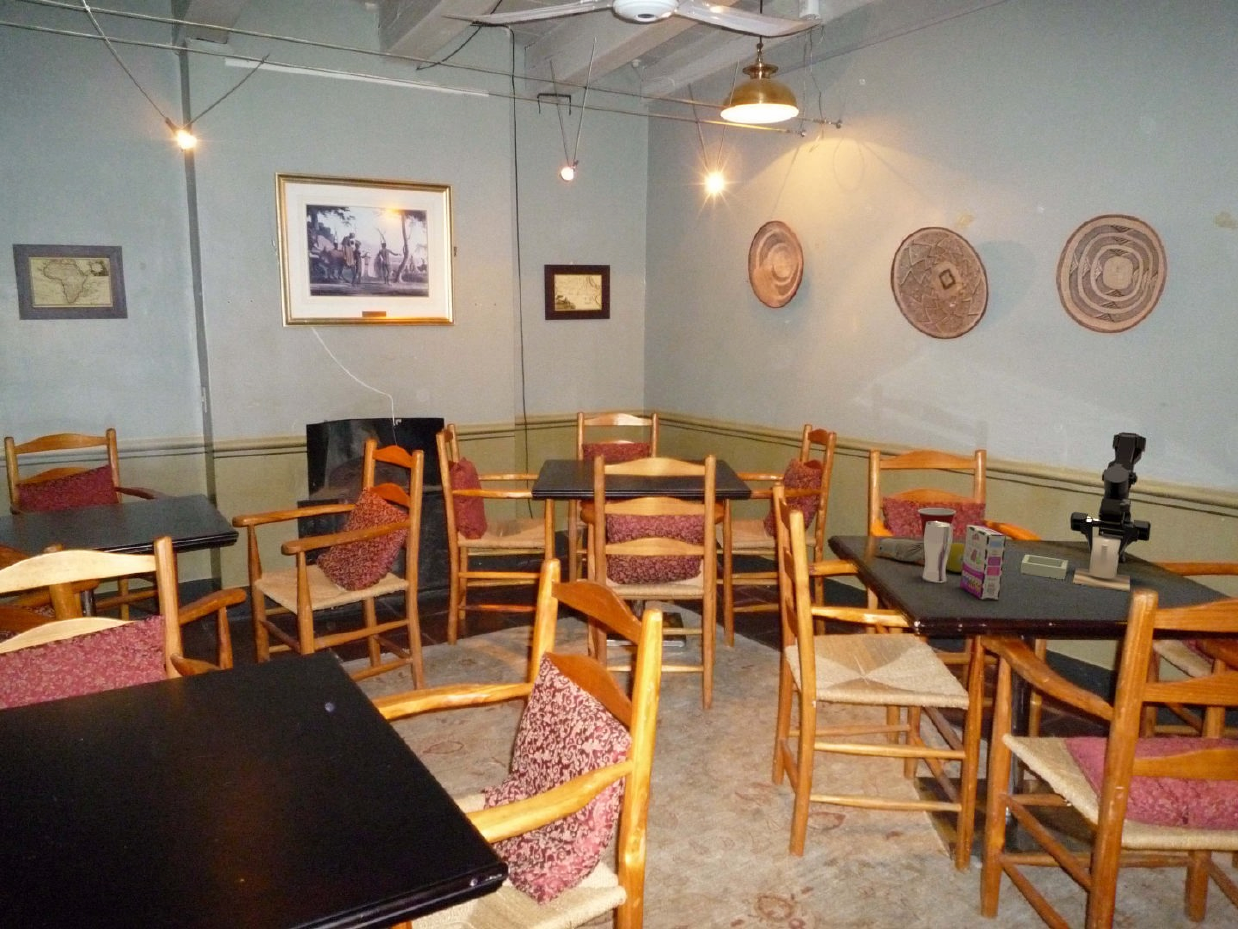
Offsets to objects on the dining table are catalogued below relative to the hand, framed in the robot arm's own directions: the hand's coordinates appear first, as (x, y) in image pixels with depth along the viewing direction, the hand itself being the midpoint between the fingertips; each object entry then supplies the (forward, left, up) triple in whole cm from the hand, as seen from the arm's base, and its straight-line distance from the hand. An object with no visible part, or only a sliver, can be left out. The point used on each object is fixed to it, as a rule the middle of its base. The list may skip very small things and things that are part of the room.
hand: (1104, 551), depth 229 cm
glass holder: (-1, -14, -8) cm, 16 cm away
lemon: (+14, -34, -8) cm, 37 cm away
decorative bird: (+12, -49, -9) cm, 51 cm away
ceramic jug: (-1, 0, -7) cm, 7 cm away
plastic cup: (-10, -45, -8) cm, 47 cm away
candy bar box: (+32, -26, -8) cm, 42 cm away
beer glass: (+26, -38, -8) cm, 47 cm away
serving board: (-1, 0, -8) cm, 8 cm away
